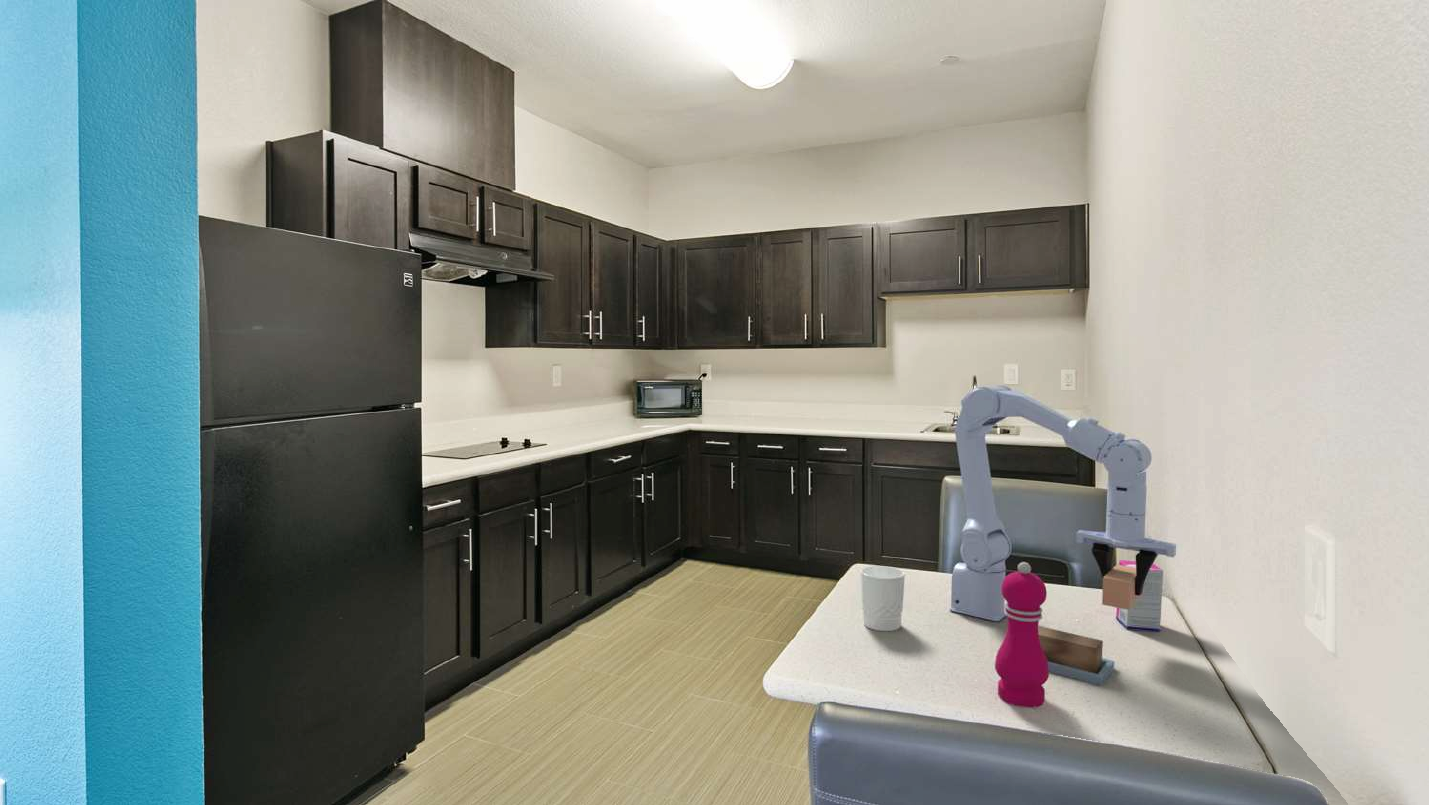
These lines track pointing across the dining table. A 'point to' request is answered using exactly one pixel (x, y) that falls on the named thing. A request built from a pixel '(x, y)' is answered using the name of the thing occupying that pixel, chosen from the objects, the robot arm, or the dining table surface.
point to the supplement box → (1144, 603)
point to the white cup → (882, 597)
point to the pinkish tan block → (1120, 587)
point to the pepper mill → (1022, 641)
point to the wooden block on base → (1071, 649)
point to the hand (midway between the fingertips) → (1122, 591)
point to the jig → (1084, 672)
